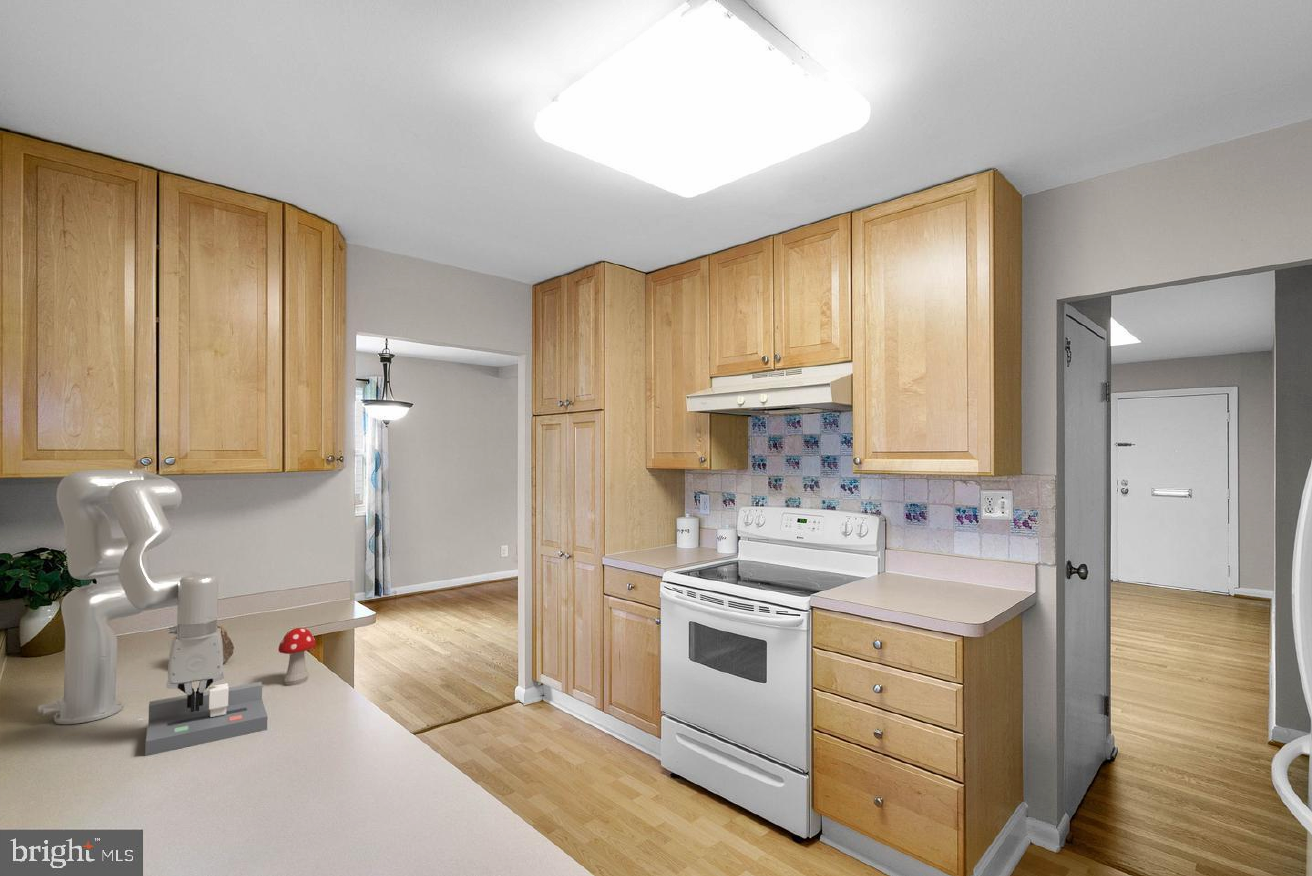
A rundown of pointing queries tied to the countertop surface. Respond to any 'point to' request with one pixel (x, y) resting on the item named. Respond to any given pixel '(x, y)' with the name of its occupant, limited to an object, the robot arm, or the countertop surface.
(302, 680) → the decorative mushroom
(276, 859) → the countertop surface
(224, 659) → the rock
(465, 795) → the countertop surface
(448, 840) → the countertop surface
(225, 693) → the knob
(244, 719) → the panel
